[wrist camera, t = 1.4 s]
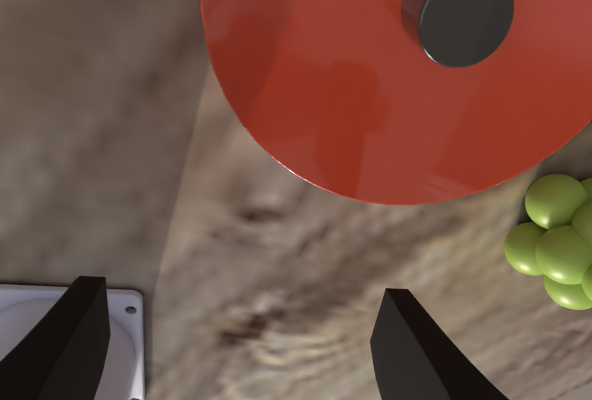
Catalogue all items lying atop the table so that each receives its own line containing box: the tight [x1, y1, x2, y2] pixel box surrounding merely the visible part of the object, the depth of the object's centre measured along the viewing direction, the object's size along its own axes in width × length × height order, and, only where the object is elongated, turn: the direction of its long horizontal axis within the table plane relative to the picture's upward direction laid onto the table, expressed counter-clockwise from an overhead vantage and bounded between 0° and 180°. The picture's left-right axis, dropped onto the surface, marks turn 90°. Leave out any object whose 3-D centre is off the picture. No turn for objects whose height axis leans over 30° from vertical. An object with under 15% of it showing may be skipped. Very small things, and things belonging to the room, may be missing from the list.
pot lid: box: [200, 0, 592, 205], centre depth 12 cm, size 12×12×3 cm
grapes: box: [504, 174, 592, 310], centre depth 22 cm, size 5×4×7 cm
